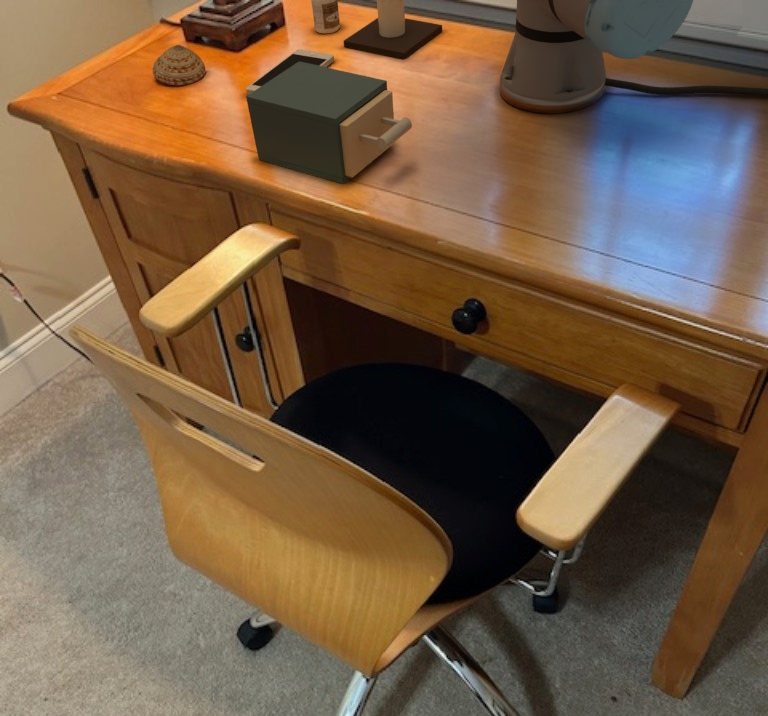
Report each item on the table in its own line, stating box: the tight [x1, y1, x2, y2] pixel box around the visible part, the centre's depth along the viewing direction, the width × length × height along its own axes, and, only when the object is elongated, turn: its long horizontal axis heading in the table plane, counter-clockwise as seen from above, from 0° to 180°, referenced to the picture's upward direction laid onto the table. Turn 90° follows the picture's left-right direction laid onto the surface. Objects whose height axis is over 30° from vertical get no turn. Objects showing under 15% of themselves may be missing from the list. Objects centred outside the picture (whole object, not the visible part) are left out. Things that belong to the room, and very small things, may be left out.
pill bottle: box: [310, 0, 341, 34], centre depth 134 cm, size 4×4×8 cm
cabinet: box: [245, 61, 388, 185], centre depth 107 cm, size 15×12×9 cm
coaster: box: [343, 17, 443, 60], centre depth 132 cm, size 12×12×1 cm
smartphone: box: [245, 48, 335, 95], centre depth 126 cm, size 7×15×1 cm, turn 151°
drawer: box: [340, 89, 413, 178], centre depth 105 cm, size 18×10×7 cm, turn 56°
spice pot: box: [376, 0, 406, 38], centre depth 128 cm, size 4×4×9 cm
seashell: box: [152, 44, 206, 86], centre depth 129 cm, size 8×6×8 cm
